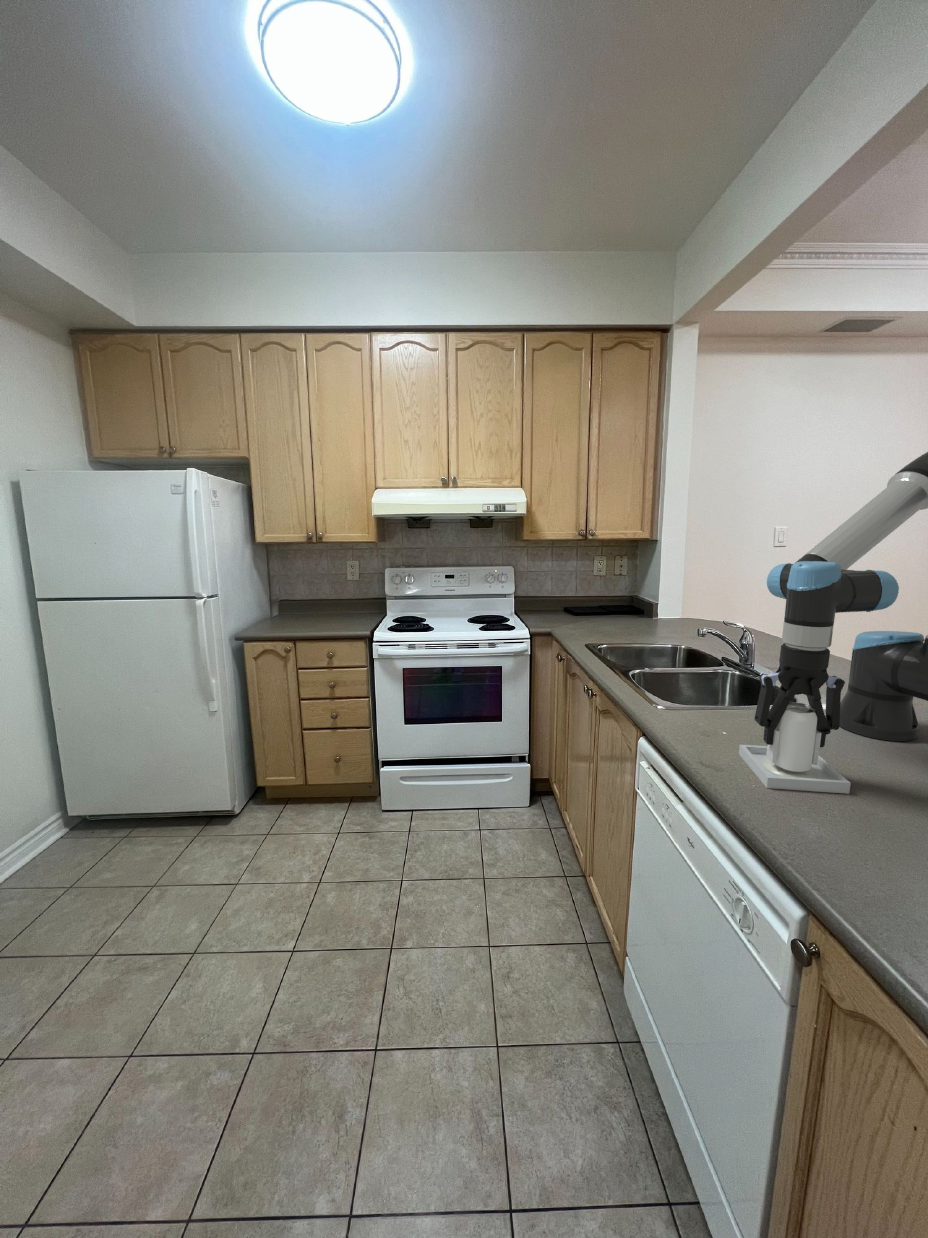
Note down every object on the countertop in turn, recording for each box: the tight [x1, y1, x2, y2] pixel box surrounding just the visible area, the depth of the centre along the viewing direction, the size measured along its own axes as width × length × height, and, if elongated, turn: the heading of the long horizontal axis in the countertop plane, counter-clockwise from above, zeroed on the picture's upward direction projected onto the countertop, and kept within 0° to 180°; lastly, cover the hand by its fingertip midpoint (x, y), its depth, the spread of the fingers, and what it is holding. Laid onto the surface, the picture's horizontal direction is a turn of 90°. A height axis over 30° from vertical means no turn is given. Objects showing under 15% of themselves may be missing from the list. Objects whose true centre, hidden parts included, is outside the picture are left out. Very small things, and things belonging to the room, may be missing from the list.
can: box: [774, 701, 817, 773], centre depth 94 cm, size 6×6×12 cm
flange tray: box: [738, 744, 852, 795], centre depth 95 cm, size 14×14×2 cm
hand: (791, 760), depth 95 cm, fingers closed on can, 6 cm apart
